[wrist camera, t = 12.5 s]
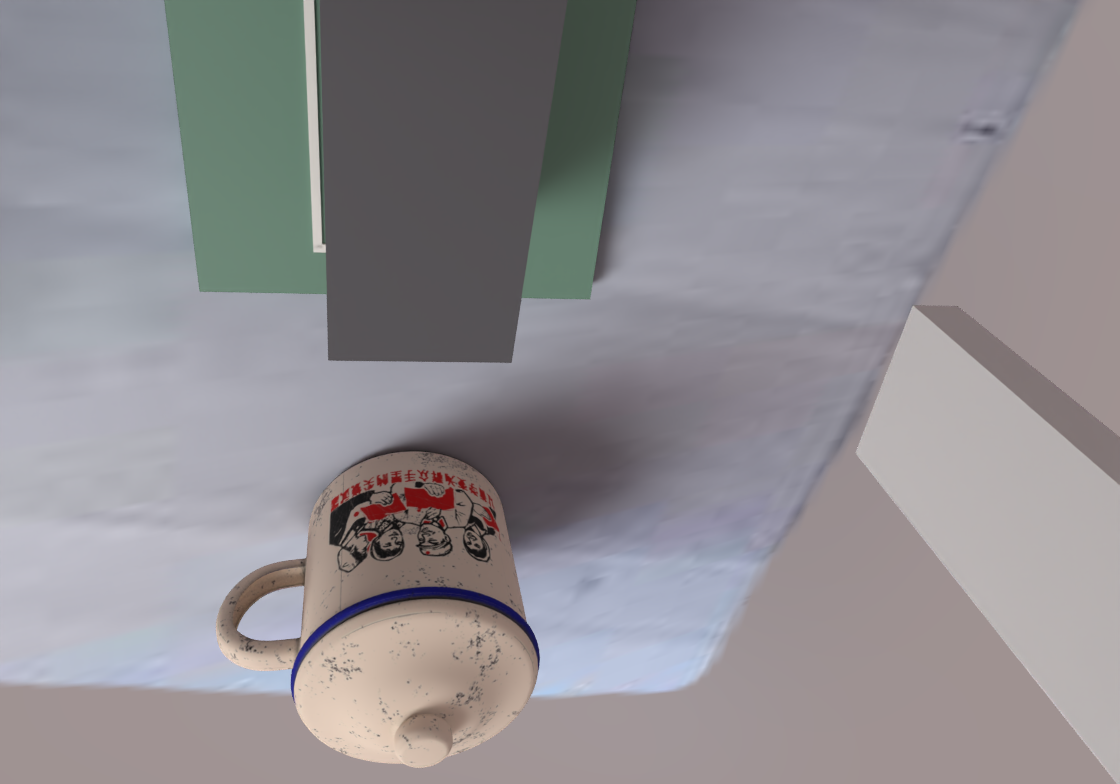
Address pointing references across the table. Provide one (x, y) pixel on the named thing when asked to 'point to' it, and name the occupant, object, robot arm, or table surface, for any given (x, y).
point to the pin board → (297, 144)
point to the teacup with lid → (399, 614)
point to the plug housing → (432, 171)
